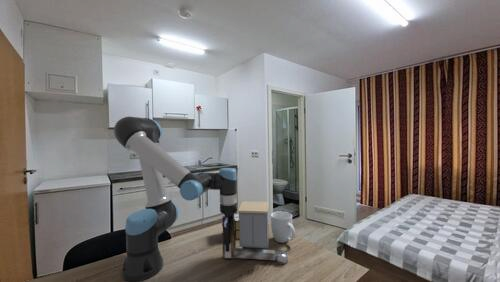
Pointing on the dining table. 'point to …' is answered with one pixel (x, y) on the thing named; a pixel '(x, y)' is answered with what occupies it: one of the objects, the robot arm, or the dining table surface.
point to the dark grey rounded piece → (281, 257)
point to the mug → (282, 226)
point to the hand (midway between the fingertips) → (229, 254)
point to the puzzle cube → (236, 225)
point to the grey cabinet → (254, 225)
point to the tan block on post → (247, 251)
